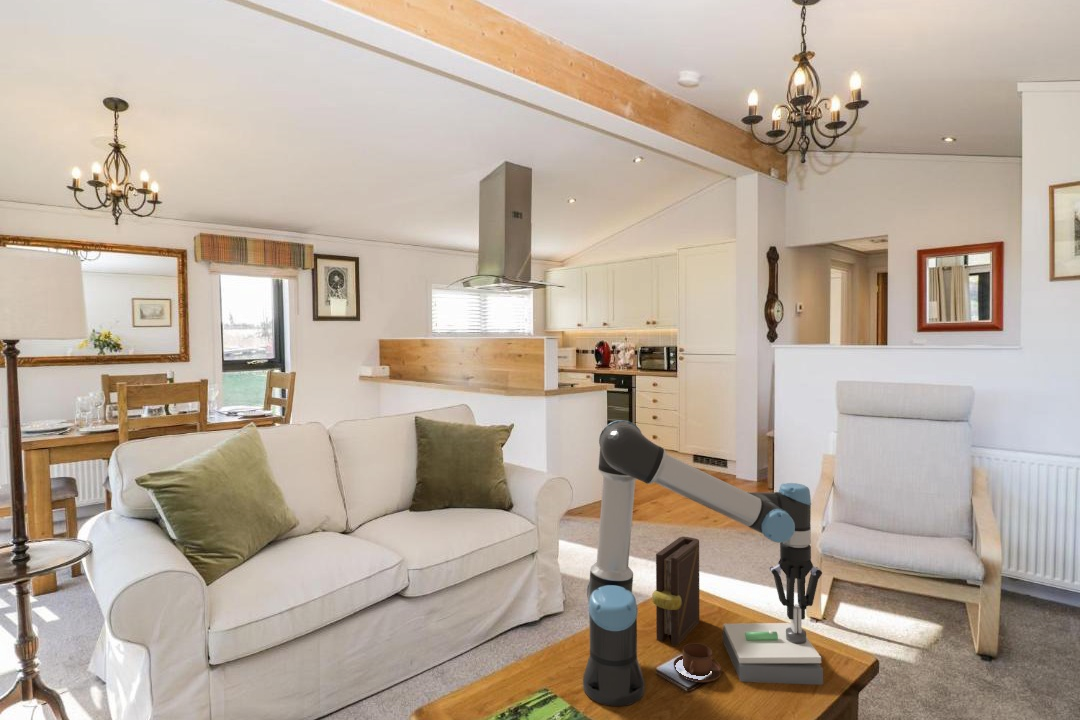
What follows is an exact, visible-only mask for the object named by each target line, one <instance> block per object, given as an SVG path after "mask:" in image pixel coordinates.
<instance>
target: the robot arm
mask: <svg viewBox="0 0 1080 720" xmlns="http://www.w3.org/2000/svg"><path fill="white" fill-rule="evenodd" d="M598 443H599V454H598V455H599V457H598V471H599V473H600V474H601V475H602V477H603V479H602V490H601V491H602V492H601V503H600V504H601V505H600V516H599V526H598V540H597V553H596V562H594V564H592V565H591V567H590V569H589V570H590V571H589V581H588V585H587V588H586V595H587V605H588V618H589V657H588V661H587V664H586V667H585V670H584V672H583V676H582V688H583V691H584V693H585V695H586V696H587V697H588V698H590V699H591V700H593V702H594V701H595V702H596V703H599V704H601V705H605V706H610V707H623V706H629V705H632V704H634V703H636V702H638V701H640V700H641V699H642V697H643V696H644V694H645V679H644V675H643V672H642V669H641V666H640V662H639V660H638V629H637V628H638V621H637V619H638V605H637V599H636V597H635V595H634V594H633V583H634V572H633V570H632V569H631V567H629V564H630V563H629V562H630V561H629V560H630V550H631V549H630V548H631V535H632V527H633V526H632V525H633V514H634V512H633V511H634V501H635V489H636V480H638V481H641V482H642V483H645V484H647V485H650V484H653V483H655V484H657V485H659V486H661V487H663V488H665V489H668V490H669V491H672V492H673V493H676V494H678V495H680V496H682V497H684V498H687V499H689V500H691V501H693V502H695V503H697V504H699V505H702V506H704V507H706V508H708V509H710V510H712V511H714V512H716V513H718V514H721V515H723V516H725V517H727V518H730V519H732V520H733V521H735V522H738V523H740V524H742V525H744V526H745V527H746V526H747V527H748V528H749V529H751V530H754V531H756V532H758V533H760V534H762V535H763V536H764V537H765V538H766V539H768V540H770V541H771V542H774V543H778V544H779V551H780V552H779V561H778V563H777V564H776V565H775V566H770V567H769V571H770V572H771V574H772V575H773V579H774V583H775V586H776V591H777V595H778V600H779V601H780V603H781V604H782V606H785V607H786V615H787V618H788V619H789V620H790V623H791V629H792V631H793V632H794V633H797V632H798V633H802V629H803V628H802V626H803V625H802V620H805V619H806V610H807V607H813V605H814V600H815V597H816V596H815V595H816V592H817V586H818V584H819V583H818V582H819V579H820V577H821V576H822V575H823V572H822V571H821V569H819V567H817V566H814V563H813V562H812V545H811V543H812V537H811V536H812V529H811V526H812V525H811V522H812V521H811V519H812V516H811V515H812V513H811V507H812V506H811V505H812V499H811V491H810V489H809V487H808V486H807V485H805V484H801V483H797V482H796V483H795V482H794V483H793V482H786V483H782V484H780V485H779V489H778V491H776V492H749V491H745V490H743V489H741V488H739V487H737V486H734V485H733V484H730V483H728V482H725V481H724V480H722V479H720V478H718V477H715V476H714V475H712V474H709V473H707V472H705V471H703V470H700V469H698V468H696V467H694V466H692V465H690V464H688V463H686V462H684V461H682V460H679V459H677V458H675V457H673V456H671V455H670V454H667V452H666V449H665V448H664V447H662V446H660V445H657V444H655V443H654V442H652V440H650V439H648V438H647V437H646V436H645V435H644V434H643V433H642V431H641V429H640V428H639V427H638V425H636V424H635V423H633V422H631V421H628V420H623V419H622V420H619V419H618V420H615V421H611V422H610V423H608V424H606V426H604V428H603V429H602V430H601V432H600V435H599V439H598ZM782 572H783V573H784V575H785V579H786V591H785V589H784V585H783V581H782V578H781V574H782ZM809 574H810V575H809ZM808 575H809V578H808V583H807V582H806V581H807V580H806V577H807V576H808ZM795 582H796V583H797V584H796V587H797V588H796V589H797V604H795ZM806 583H807V587H806ZM785 592H786V593H785Z"/></svg>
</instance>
